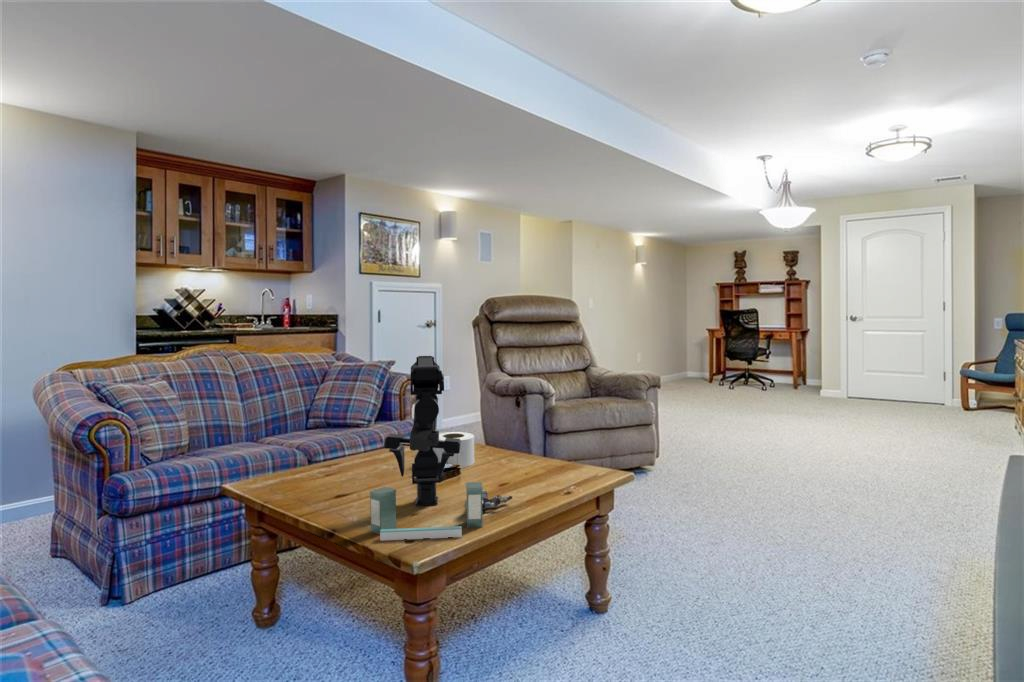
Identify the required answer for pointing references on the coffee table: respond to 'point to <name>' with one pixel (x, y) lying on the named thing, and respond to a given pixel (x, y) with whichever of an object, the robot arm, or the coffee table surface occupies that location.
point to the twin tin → (474, 504)
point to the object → (466, 451)
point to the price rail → (420, 533)
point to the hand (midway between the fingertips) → (420, 477)
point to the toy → (491, 501)
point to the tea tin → (383, 509)
